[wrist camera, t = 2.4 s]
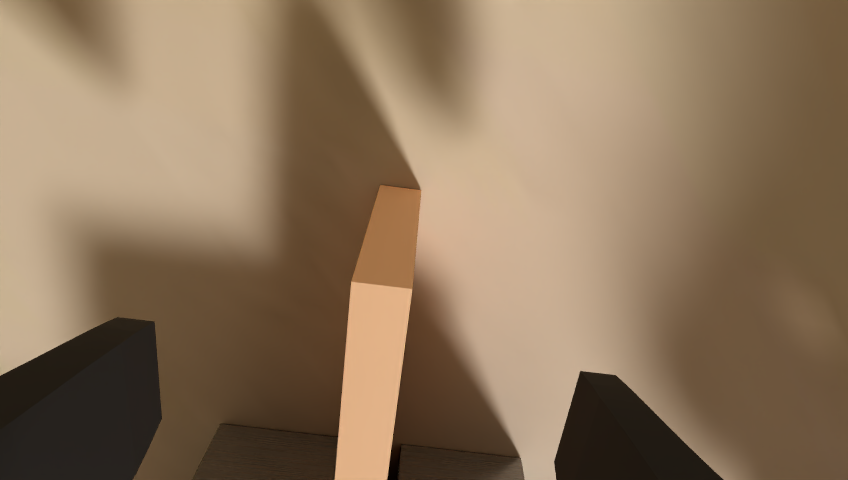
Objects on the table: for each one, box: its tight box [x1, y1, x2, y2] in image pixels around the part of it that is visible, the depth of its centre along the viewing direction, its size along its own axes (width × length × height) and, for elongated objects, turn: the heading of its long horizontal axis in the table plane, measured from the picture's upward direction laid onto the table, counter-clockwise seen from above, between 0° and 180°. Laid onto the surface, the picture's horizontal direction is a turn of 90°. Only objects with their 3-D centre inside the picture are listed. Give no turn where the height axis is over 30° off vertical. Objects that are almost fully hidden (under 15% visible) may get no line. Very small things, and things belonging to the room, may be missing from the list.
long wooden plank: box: [335, 185, 421, 480], centre depth 14 cm, size 1×12×5 cm, turn 173°
